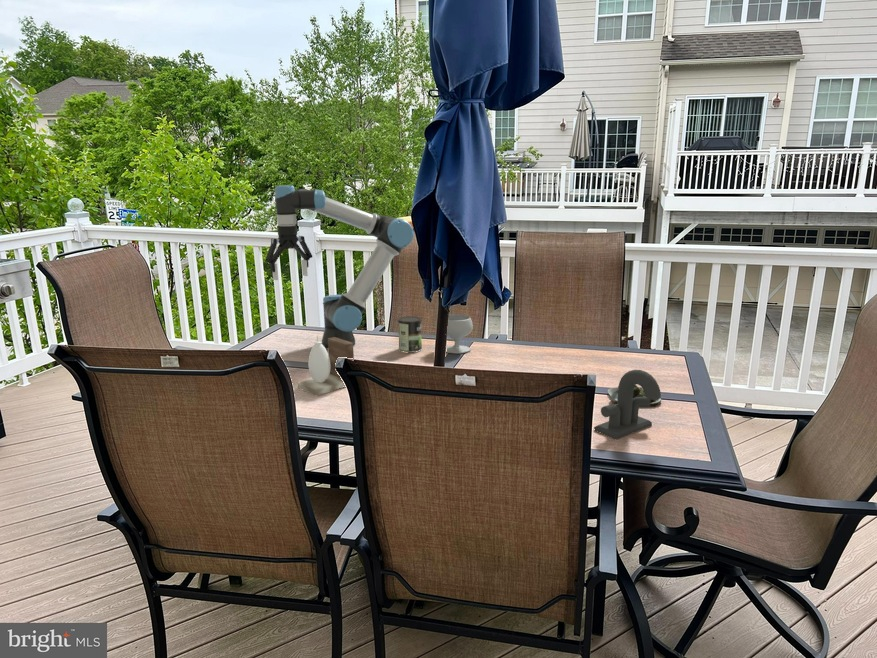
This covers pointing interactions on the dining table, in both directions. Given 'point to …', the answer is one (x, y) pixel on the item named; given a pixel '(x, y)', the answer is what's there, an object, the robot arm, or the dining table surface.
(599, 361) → the dining table surface
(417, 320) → the coffee can
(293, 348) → the dining table surface
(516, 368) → the dining table surface
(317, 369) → the sauce bottle
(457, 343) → the chalice
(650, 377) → the faucet
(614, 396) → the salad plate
